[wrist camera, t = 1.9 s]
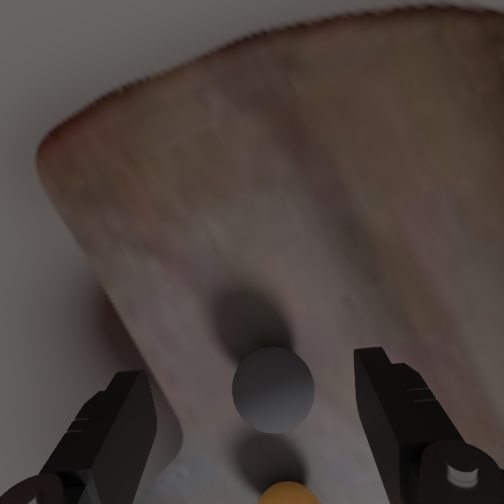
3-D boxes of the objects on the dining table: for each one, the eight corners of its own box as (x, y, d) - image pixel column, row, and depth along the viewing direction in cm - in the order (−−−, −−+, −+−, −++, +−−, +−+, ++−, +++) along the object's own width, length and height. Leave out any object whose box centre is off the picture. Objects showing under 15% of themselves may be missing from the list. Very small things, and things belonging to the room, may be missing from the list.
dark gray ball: (305, 328, 28) (316, 373, 23) (311, 393, 29) (323, 449, 24) (230, 335, 28) (223, 381, 23) (239, 400, 30) (235, 456, 24)
